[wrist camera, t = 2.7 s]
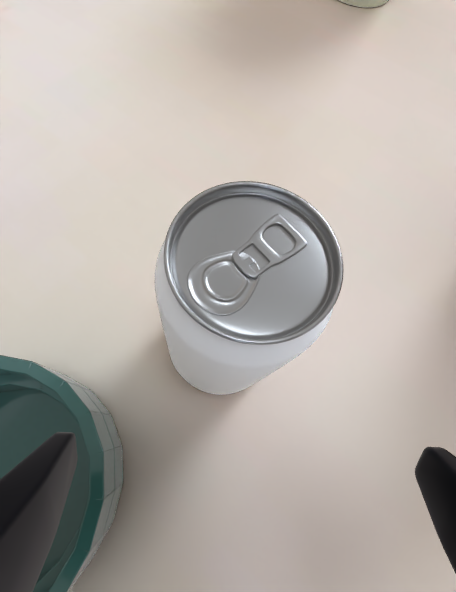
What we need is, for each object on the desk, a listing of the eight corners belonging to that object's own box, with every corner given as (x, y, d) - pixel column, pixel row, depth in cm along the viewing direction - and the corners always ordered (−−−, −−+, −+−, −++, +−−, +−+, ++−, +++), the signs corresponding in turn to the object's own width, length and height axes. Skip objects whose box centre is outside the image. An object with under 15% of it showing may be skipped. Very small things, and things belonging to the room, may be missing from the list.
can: (147, 336, 21) (103, 237, 10) (225, 278, 23) (260, 141, 12) (214, 419, 20) (249, 411, 9) (290, 349, 22) (397, 270, 11)
